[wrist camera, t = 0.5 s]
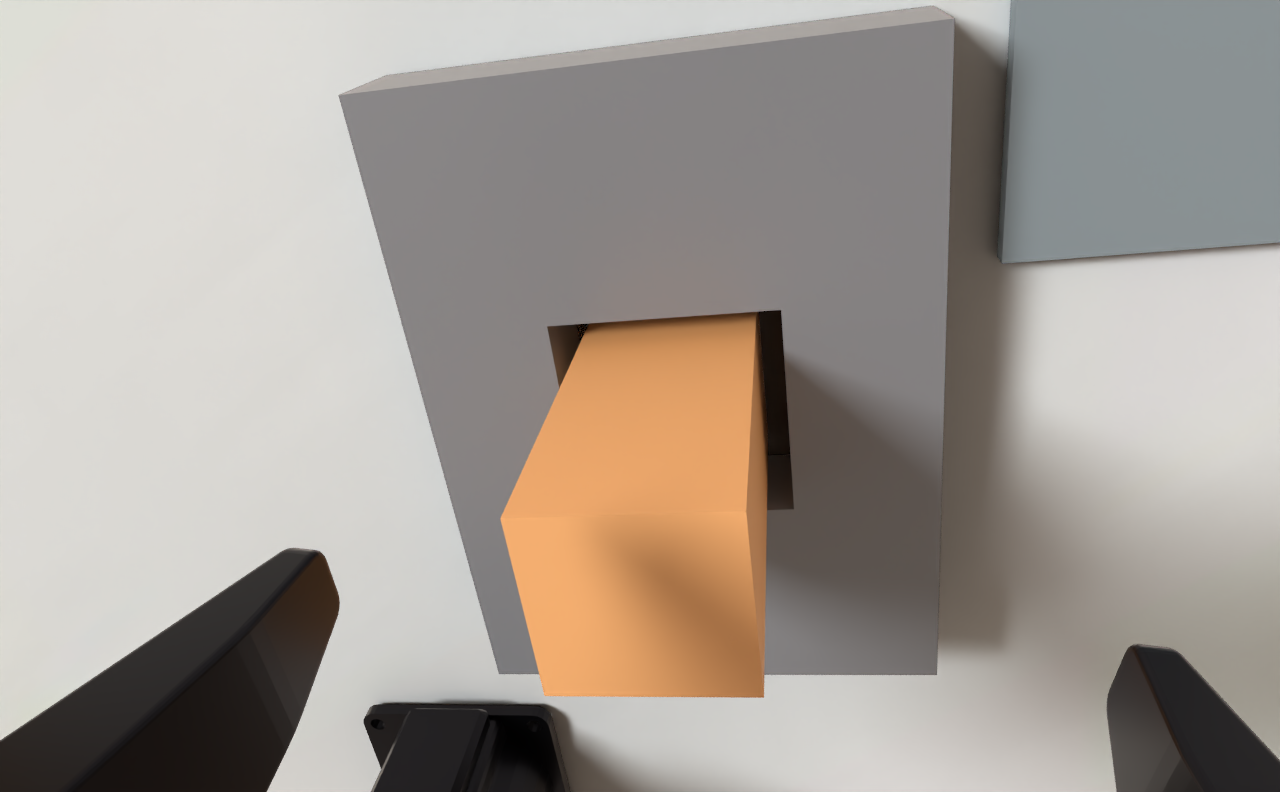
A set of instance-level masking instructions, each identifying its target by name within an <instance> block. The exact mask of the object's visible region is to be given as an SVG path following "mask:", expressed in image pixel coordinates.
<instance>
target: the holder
mask: <svg viewBox="0 0 1280 792" xmlns="http://www.w3.org/2000/svg"><path fill="white" fill-rule="evenodd" d="M954 23H955V18H953V17H951V16H950V15H948V14H946V13H945V12H943V11H941V10H940V9H938V8H936V7H935V6H927V7H919V8H911V9H903V10H895V11H887V12H879V13H872V14H864V15H856V16H848V17H840V18H832V19H825V20H817V21H809V22H801V23H793V24H785V25H778V26H770V27H762V28H754V29H746V30H738V31H731V32H723V33H715V34H707V35H699V36H691V37H684V38H676V39H668V40H660V41H652V42H644V43H637V44H629V45H621V46H613V47H605V48H597V49H590V50H582V51H574V52H566V53H558V54H550V55H543V56H535V57H527V58H519V59H511V60H503V61H496V62H488V63H480V64H472V65H464V66H456V67H449V68H441V69H433V70H425V71H417V72H409V73H401V74H394V75H386V76H383V77H381V78H378V79H376V80H374V81H371V82H369V83H366V84H364V85H362V86H359V87H357V88H355V89H352V90H350V91H347V92H345V93H343V94H340V95H339V99H340V102H341V106H342V109H343V113H344V117H345V120H346V124H347V127H348V131H349V135H350V138H351V142H352V145H353V149H354V153H355V156H356V160H357V163H358V167H359V171H360V174H361V178H362V181H363V185H364V189H365V192H366V196H367V199H368V203H369V207H370V210H371V214H372V217H373V221H374V225H375V228H376V232H377V236H378V239H379V243H380V246H381V250H382V254H383V257H384V261H385V264H386V268H387V272H388V275H389V279H390V282H391V286H392V290H393V293H394V297H395V300H396V304H397V308H398V311H399V315H400V318H401V322H402V326H403V329H404V333H405V336H406V340H407V344H408V347H409V351H410V354H411V358H412V362H413V365H414V369H415V372H416V376H417V380H418V383H419V387H420V390H421V394H422V398H423V401H424V405H425V408H426V412H427V416H428V419H429V423H430V426H431V430H432V434H433V437H434V441H435V444H436V448H437V452H438V455H439V459H440V462H441V466H442V470H443V473H444V477H445V480H446V484H447V488H448V491H449V495H450V498H451V502H452V506H453V509H454V513H455V517H456V520H457V524H458V527H459V531H460V535H461V538H462V542H463V545H464V549H465V553H466V556H467V560H468V563H469V567H470V571H471V574H472V578H473V581H474V585H475V589H476V592H477V596H478V599H479V603H480V607H481V610H482V614H483V617H484V621H485V625H486V628H487V632H488V635H489V639H490V643H491V646H492V650H493V653H494V657H495V661H496V664H497V668H498V671H499V674H539V671H538V667H537V663H536V659H535V655H534V651H533V647H532V643H531V639H530V635H529V631H528V627H527V623H526V619H525V615H524V611H523V607H522V603H521V599H520V595H519V591H518V587H517V583H516V579H515V575H514V571H513V567H512V563H511V559H510V555H509V551H508V547H507V543H506V539H505V535H504V531H503V527H502V523H501V519H500V518H501V516H502V514H503V511H504V509H505V507H506V505H507V503H508V501H509V498H510V496H511V494H512V492H513V490H514V487H515V485H516V483H517V481H518V479H519V476H520V474H521V472H522V470H523V468H524V465H525V463H526V461H527V459H528V457H529V454H530V452H531V450H532V448H533V446H534V443H535V441H536V439H537V437H538V435H539V432H540V430H541V428H542V426H543V424H544V421H545V419H546V417H547V415H548V413H549V410H550V408H551V406H552V404H553V402H554V399H555V397H556V395H557V393H558V391H559V388H560V386H561V384H562V382H563V380H564V377H565V375H566V373H567V371H568V369H569V366H570V364H571V362H572V360H573V358H574V355H575V353H576V351H577V349H578V347H579V344H580V341H579V335H578V330H577V324H588V323H603V322H617V321H631V320H645V319H659V318H673V317H688V316H702V315H716V314H730V313H744V312H758V311H773V310H781V316H782V331H783V346H784V362H785V377H786V393H787V408H788V424H789V439H790V455H768V478H767V539H766V600H765V661H764V675H937V650H938V613H939V576H940V539H941V502H942V465H943V429H944V392H945V355H946V318H947V281H948V244H949V208H950V171H951V134H952V97H953V60H954Z"/></svg>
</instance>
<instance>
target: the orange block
mask: <svg viewBox="0 0 1280 792" xmlns="http://www.w3.org/2000/svg"><path fill="white" fill-rule="evenodd" d="M767 478H768V426H767V413H766V400H765V387H764V374H763V362H762V349H761V336H760V323H759V311H758V312H744V313H730V314H716V315H702V316H688V317H673V318H659V319H645V320H631V321H617V322H603V323H589V325H588V327H587V329H586V331H585V333H584V336H583V338H582V340H581V342H580V344H579V347H578V349H577V351H576V353H575V355H574V358H573V360H572V362H571V364H570V366H569V369H568V371H567V373H566V375H565V377H564V380H563V382H562V384H561V386H560V388H559V391H558V393H557V395H556V397H555V399H554V402H553V404H552V406H551V408H550V410H549V413H548V415H547V417H546V419H545V421H544V424H543V426H542V428H541V430H540V432H539V435H538V437H537V439H536V441H535V443H534V446H533V448H532V450H531V452H530V454H529V457H528V459H527V461H526V463H525V465H524V468H523V470H522V472H521V474H520V476H519V479H518V481H517V483H516V485H515V487H514V490H513V492H512V494H511V496H510V498H509V501H508V503H507V505H506V507H505V509H504V511H503V514H502V516H501V518H500V519H501V523H502V527H503V531H504V535H505V539H506V543H507V547H508V551H509V555H510V559H511V563H512V567H513V571H514V575H515V579H516V583H517V587H518V591H519V595H520V599H521V603H522V607H523V611H524V615H525V619H526V623H527V627H528V631H529V635H530V639H531V643H532V647H533V651H534V655H535V659H536V663H537V667H538V671H539V675H540V679H541V683H542V687H543V691H544V695H545V696H619V697H764V661H765V600H766V539H767Z"/></svg>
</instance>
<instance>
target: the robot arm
mask: <svg viewBox="0 0 1280 792" xmlns="http://www.w3.org/2000/svg"><path fill="white" fill-rule="evenodd" d="M339 604H340V602H339V595H338V592H337V589H336V586H335V583H334V580H333V577H332V575H331V572H330V569H329V566H328V563H327V560H326V558H325V556H324V555H323V554H322V553H321V552H320V551H317V550H309V549H300V548H289V549H286V550H284V551H282V552H280V553H279V554H277V555H276V556H274V557H273V558H271V559H270V560H268V561H267V562H265V563H264V564H262V565H261V566H259V567H258V568H256V569H255V570H253V571H252V572H250V573H249V574H247V575H246V576H244V577H243V578H241V579H240V580H238V581H237V582H235V583H234V584H232V585H231V586H229V587H228V588H226V589H225V590H223V591H222V592H220V593H219V594H218V595H216V596H215V597H213V598H212V599H210V600H209V601H207V602H206V603H204V604H203V605H201V606H200V607H198V608H197V609H195V610H194V611H192V612H191V613H189V614H188V615H186V616H185V617H183V618H182V619H180V620H179V621H177V622H176V623H174V624H173V625H171V626H170V627H168V628H167V629H165V630H164V631H162V632H161V633H159V634H158V635H156V636H155V637H154V638H152V639H151V640H149V641H148V642H146V643H145V644H143V645H142V646H140V647H139V648H137V649H136V650H134V651H133V652H131V653H130V654H128V655H127V656H125V657H124V658H122V659H121V660H119V661H118V662H116V663H115V664H113V665H112V666H110V667H109V668H107V669H106V670H104V671H103V672H101V673H100V674H98V675H97V676H95V677H94V678H92V679H91V680H90V681H88V682H87V683H85V684H84V685H82V686H81V687H79V688H78V689H76V690H75V691H73V692H72V693H70V694H69V695H67V696H66V697H64V698H63V699H61V700H60V701H58V702H57V703H55V704H54V705H52V706H51V707H49V708H48V709H46V710H45V711H43V712H42V713H40V714H39V715H37V716H36V717H34V718H33V719H31V720H30V721H28V722H27V723H26V724H24V725H23V726H21V727H20V728H18V729H17V730H15V731H14V732H12V733H11V734H9V735H8V736H6V737H5V738H3V739H2V740H0V792H267V790H268V788H269V786H270V784H271V782H272V780H273V778H274V776H275V773H276V771H277V769H278V767H279V765H280V763H281V761H282V759H283V757H284V755H285V753H286V751H287V749H288V746H289V744H290V742H291V740H292V738H293V735H294V733H295V731H296V728H297V726H298V723H299V721H300V718H301V716H302V713H303V711H304V708H305V705H306V702H307V699H308V697H309V694H310V691H311V688H312V686H313V683H314V680H315V677H316V675H317V672H318V669H319V666H320V664H321V661H322V658H323V655H324V652H325V650H326V647H327V644H328V641H329V639H330V636H331V633H332V630H333V628H334V625H335V622H336V619H337V616H338V612H339ZM1107 718H1108V726H1109V734H1110V742H1111V750H1112V758H1113V766H1114V774H1115V782H1116V790H1117V792H1280V760H1279V759H1278V758H1277V757H1276V756H1275V755H1274V754H1273V753H1272V751H1271V750H1270V749H1269V748H1268V747H1267V746H1266V745H1265V744H1264V743H1263V742H1262V741H1261V740H1260V739H1259V737H1258V736H1257V735H1256V734H1255V733H1254V732H1253V731H1252V730H1251V729H1250V728H1249V727H1248V726H1247V725H1246V723H1245V722H1244V721H1243V720H1242V719H1241V718H1240V717H1239V716H1238V715H1237V714H1236V713H1235V712H1234V711H1233V709H1232V708H1231V707H1230V706H1229V705H1228V704H1227V703H1226V702H1225V701H1224V700H1223V699H1222V698H1221V697H1220V695H1219V694H1218V693H1217V692H1216V691H1215V690H1214V689H1213V688H1212V687H1211V686H1210V685H1209V684H1208V683H1207V681H1206V680H1205V679H1204V678H1203V677H1202V676H1201V675H1200V674H1199V673H1198V672H1197V671H1196V670H1195V669H1194V667H1193V666H1192V665H1191V664H1190V663H1189V662H1188V661H1187V660H1186V659H1185V658H1184V657H1183V656H1182V655H1181V654H1180V653H1179V652H1177V651H1176V650H1174V649H1171V648H1167V647H1159V646H1150V645H1142V644H1135V645H1132V646H1130V647H1129V648H1128V649H1127V651H1126V653H1125V655H1124V657H1123V659H1122V662H1121V664H1120V667H1119V669H1118V671H1117V674H1116V676H1115V678H1114V681H1113V683H1112V685H1111V688H1110V690H1109V693H1108V698H1107ZM534 721H536V722H534ZM364 725H365V728H366V730H367V733H368V735H369V738H370V741H371V743H372V746H373V748H374V751H375V754H376V756H377V759H378V761H379V764H380V767H381V771H380V773H379V776H378V778H377V780H376V782H375V784H374V786H373V789H372V791H371V792H570V788H569V784H568V780H567V776H566V772H565V768H564V764H563V760H562V756H561V752H560V748H559V744H558V740H557V736H556V732H555V728H554V724H553V720H552V716H551V715H550V713H549V712H548V711H547V710H546V709H544V708H542V707H538V706H487V705H373V706H372V707H370V709H369V711H368V712H367V714H366V716H365V718H364Z"/></svg>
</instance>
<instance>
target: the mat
mask: <svg viewBox="0 0 1280 792" xmlns="http://www.w3.org/2000/svg"><path fill="white" fill-rule="evenodd" d="M1266 243H1280V0H1011V8H1010V27H1009V46H1008V64H1007V83H1006V102H1005V120H1004V139H1003V158H1002V176H1001V195H1000V214H999V232H998V251H997V257H998V258H999V260H1000V261H1001V263H1002V264H1005V263H1018V262H1031V261H1044V260H1057V259H1070V258H1083V257H1096V256H1110V255H1123V254H1136V253H1149V252H1162V251H1175V250H1188V249H1201V248H1214V247H1227V246H1240V245H1253V244H1266Z"/></svg>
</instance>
